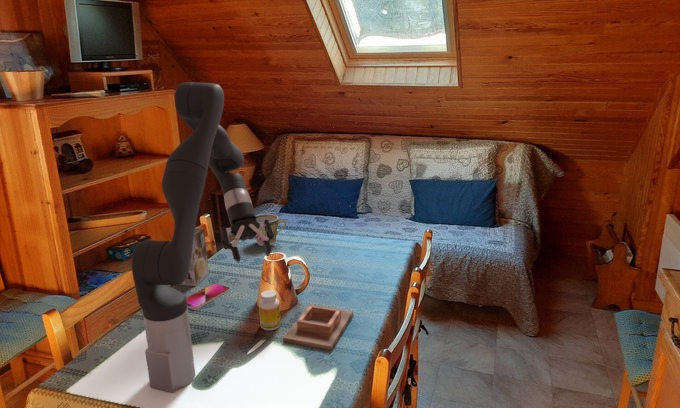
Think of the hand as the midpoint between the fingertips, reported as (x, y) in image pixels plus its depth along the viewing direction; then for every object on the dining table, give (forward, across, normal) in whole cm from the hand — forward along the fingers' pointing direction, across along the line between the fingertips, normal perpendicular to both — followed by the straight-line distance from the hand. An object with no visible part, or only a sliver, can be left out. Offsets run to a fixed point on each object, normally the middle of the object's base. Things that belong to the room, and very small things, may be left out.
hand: (253, 257), depth 143 cm
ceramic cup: (-20, +19, +42) cm, 51 cm away
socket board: (+24, +11, -2) cm, 27 cm away
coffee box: (-8, -13, +30) cm, 33 cm away
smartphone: (+2, -12, +20) cm, 24 cm away
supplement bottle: (+19, 0, +3) cm, 19 cm away
